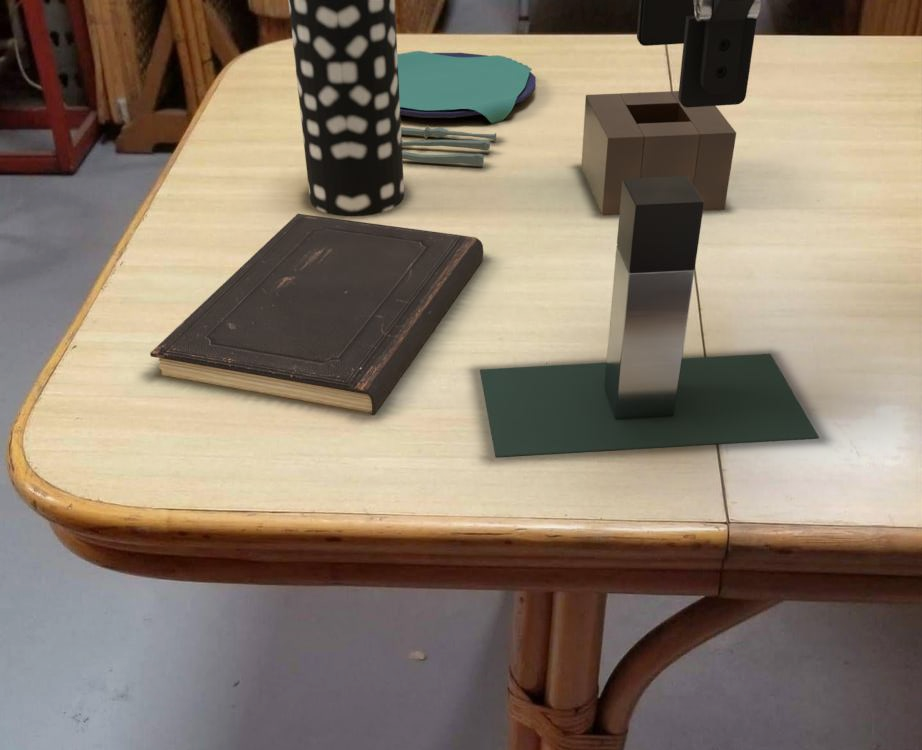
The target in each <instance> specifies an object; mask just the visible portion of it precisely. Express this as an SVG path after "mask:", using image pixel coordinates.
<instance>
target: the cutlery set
mask: <svg viewBox="0 0 922 750" xmlns="http://www.w3.org/2000/svg"><path fill="white" fill-rule="evenodd" d="M397 57H398V78H399V98H400V116H404V117H405V116H407V117H413V118H422V119H452V118H453V119H454V118H463V117H472V116H479V115H482V116H484V117H485V118H486V119H487V120H488V122H489V123H490V124H496V123H500V122H502V121H503V120H504V119H506V118H507V117H508V116H509V115H510V113H511V112H512V110H513V109H514V106H515V105H516V104H518V103H521V102H522V101H525V100H526V99H528V97H529V96H530V95H531V94H532V93H533V92H534V91H536V87H537V86H536V85H537V84H536V83H537V82H536V80H537V79H536V76H535V75H534V73H532V72H531V71H532V69H533V68H532V67H529V66H528V65H527V64H524V63H522V62H518V61H517V60H515V59H512V58H511V57H506V56H504V55H486V54H476V53H467V52H430V51H429V52H428V51H423V50H415V51H413V50H412V51H409V52H403V53H397ZM401 135H415V136H423V137H424V140H410V141H403V140H402V147H414V146H415V147H447V148H448V147H449V148H463V149H472V150H479V151H489V150H490V148H491V140H493V141H494V143H496V142H497V132H495V133H472V132H471V133H470V132H465V131H454V130H448V129H446V128H443V127H441V126H437V127H435V128H430V127H429V125H428V124H427V125H426V127H425V128H424V129H421V128H413V127H404V126H401ZM431 136H433V137H435V138H436V139H434V140H427V139H428V137H431ZM446 136H457V137H472V138H473V137H474V138H480V139H481V138H482V139H483V140H482V139H481V140H479V139H477V140H475V139H473V140H471V139H438V138H442V137H446ZM484 139H485V140H484ZM484 158H485V154H483V153H451V154H449V153H448V154H426V153H425V154H422V153H415V152H409V151H402V160H407V161H412V162H418V163H424V164H425V163H426V164H443V165H445V164H446V165H448V164H449V165H450V164H463V165H473V166H477V167H481V166H483V165H484V162H485V159H484Z"/></svg>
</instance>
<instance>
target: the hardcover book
mask: <svg viewBox="0 0 922 750" xmlns="http://www.w3.org/2000/svg"><path fill="white" fill-rule="evenodd" d="M483 260H484V244H483V243H482V241H481V240H480V239H479V238H478V237H475V236H470V235H469V236H468V235H460V234H453V233H447V232H439V231H432V230H424V229H417V228H409V227H401V226H393V225H387V224H379V223H372V222H363V221H357V220H349V219H342V218H335V217H327V216H319V215H312V214H304V213H297V214H295V216H293V217H292V218H291V219H290V220H289V221H288V222H287V223H286V224H285V225H284V226H283V227H282V228H281V229H280V230H279V231H277V232H276V233H275V234H274V236H272V237H271V238H270V239H269V240H268V241H267V242H266V243H265V244H264V245H263V246H262V247H260V249H258V250H257V251H256V252H255V253H254V254H253V255H252V256H251V257H250V258H249V259H248V260H247V261H245V262H244V264H243V265H242V266H240V267H239V268H238V270H236V271H235V272H234V273H233V274H232V275H231V276H230V277H229V278H228V279H226V281H225V282H223V283H222V285H220V286H219V287H218V288H217V289H216V290H215V291H214V292H213V293H212V294H211V295H210V296H209V297H207V298H206V299H205V300H204V302H202V303H201V304H200V305H199V306H198V307H197V308H196V309H195V310H194V311H193V312H192V313H190V315H188V317H186V318H185V319H184V320H183V321H182V322H181V323H180V324H179V325H178V326H176V328H175V329H174V330H173V331H171V332H170V334H168V335H167V336H166V337H165V338H164V339H163V340H162V341H161V342H160V343H159V344H158V345H157V346H155V348H153V350H152V351H151V352H149V354H150V357H152V358H156V359H157V358H158V361H159V364H158V368H159V369H160V370H161V375H162V376H166V377H172V378H177V379H181V380H182V379H183V380H188V381H193V382H199V383H205V384H211V385H217V386H222V387H227V388H233V389H238V390H244V391H248V392H254V393H260V394H266V395H272V396H277V397H282V398H287V399H294V400H300V401H304V402H305V401H306V402H311V403H315V404H321V405H327V406H332V407H338V408H344V409H349V410H354V411H359V412H366V413H371V414H370V415H371V416H374V415H375V414H376V413H377V411H378V410H379V408H380V407H381V406H382V404H383V403H384V401H385V400H386V399H387V397H388V396H389V394H390V393H391V391H392V390H393V388H394V387H395V385H396V384H397V383H398V381H399V380H400V378H401V377H402V376H403V374H404V373H405V371H406V370H407V369H408V367H409V366H410V364H411V363H412V361H413V360H414V358H415V357H416V355H417V354H418V352H419V351H420V350H421V348H422V347H423V345H424V344H425V343H426V342H427V340H428V338H429V337H430V336H431V334H433V331H434V330H435V328H436V327H437V325H438V324H439V322H440V321H441V319H443V317H444V316H445V314H446V312H447V311H448V310H449V309H450V307H451V306H452V305H453V303H454V301H455V300H456V299H457V297H458V295H459V294H460V292H461V291H462V290H463V288H464V287H465V285H466V284H467V282H468V281H469V280H470V279H471V277H472V275H473V274H474V273H475V271H476V270H477V268H478V267H479V266H480V264H481V263H482V261H483Z"/></svg>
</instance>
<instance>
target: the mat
mask: <svg viewBox="0 0 922 750" xmlns="http://www.w3.org/2000/svg"><path fill="white" fill-rule="evenodd" d="M605 372H606V362H591V363H574V364H571V363H570V364H554V365H553V364H552V365H536V366H533V365H532V366H517V367H497V368H481V369H479V374H480V379H481V385H482V390H483V397H484V400H485V401H484V403H485V407H486V413H487V418H488V423H489V429H490V434H491V440H492V446H493V450H494V455H495V458H496V459H497V458H512V457H528V456H529V457H531V456H546V455H562V454H563V455H566V454H581V453H599V452H617V451H631V450H651V449H666V448H681V447H698V446H701V447H702V446H715V445H730V444H731V445H733V444H734V445H735V444H749V443H750V444H751V443H766V442H767V443H768V442H783V441H784V442H785V441H799V440H800V441H801V440H802V441H803V440H815V439H816V440H817V439H819V437H820V436H819V435H818V433H817V432H816V430H815V428H814V426H813V425H812V423H811V421H810V419H809V418H808V416H807V414H806V412H805V411H804V409H803V407H802V405H801V404H800V402H799V400H798V399H797V397H796V396H795V394H794V392H793V390H792V389H791V387H790V385H789V384H788V382H787V380H786V379H785V377H784V374H783V373H782V372H781V370H780V368H779V366H778V364H777V363H776V361H775V359H774V358H773V356H772V354H771V353H759V354H758V353H755V354H739V355H738V354H737V355H720V356H717V355H716V356H702V357H701V356H700V357H682V362H681V369H680V377H679V384H678V391H677V398H676V405H675V412H674V416H666V417H649V418H631V419H615V418H614V415H613V412H612V409H611V406H610V403H609V400H608V397H607V394H606V391H605V388H604V383H605Z"/></svg>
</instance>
